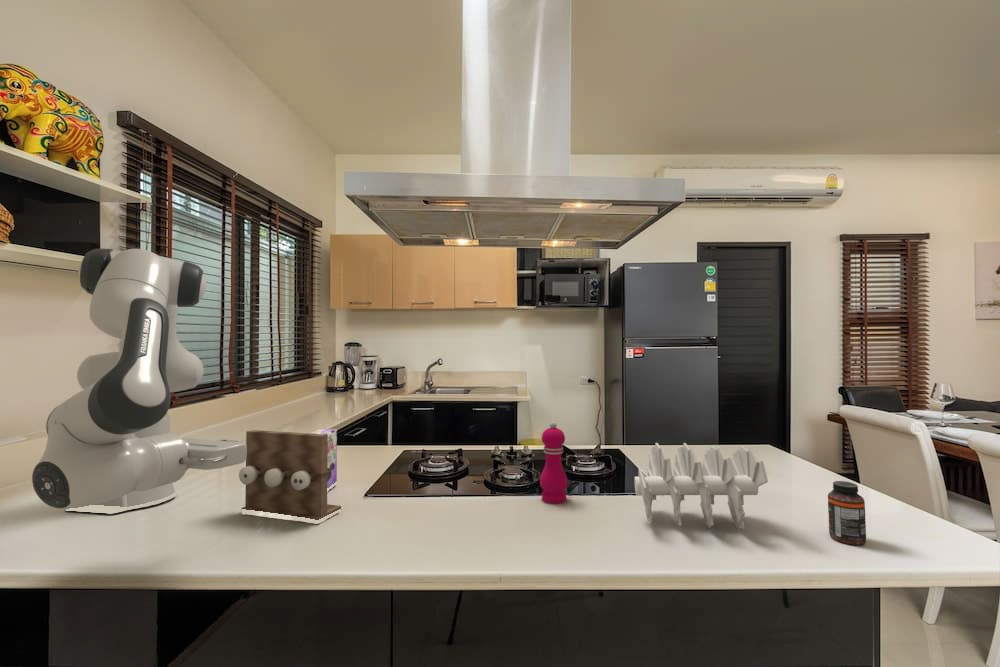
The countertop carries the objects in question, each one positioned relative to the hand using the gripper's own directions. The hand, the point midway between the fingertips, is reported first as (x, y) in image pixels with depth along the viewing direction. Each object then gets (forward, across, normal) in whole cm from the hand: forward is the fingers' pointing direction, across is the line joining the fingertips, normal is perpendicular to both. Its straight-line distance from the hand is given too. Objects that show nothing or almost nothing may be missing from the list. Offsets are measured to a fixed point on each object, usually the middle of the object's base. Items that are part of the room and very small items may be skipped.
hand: (230, 443), depth 92 cm
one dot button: (+14, +7, +12) cm, 20 cm away
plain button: (+14, 0, +12) cm, 18 cm away
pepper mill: (+45, -58, +20) cm, 76 cm away
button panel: (+17, 0, +20) cm, 26 cm away
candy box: (+32, +5, +20) cm, 38 cm away
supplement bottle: (+37, -120, +20) cm, 127 cm away
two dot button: (+14, -8, +12) cm, 20 cm away
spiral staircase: (+38, -91, +20) cm, 101 cm away
